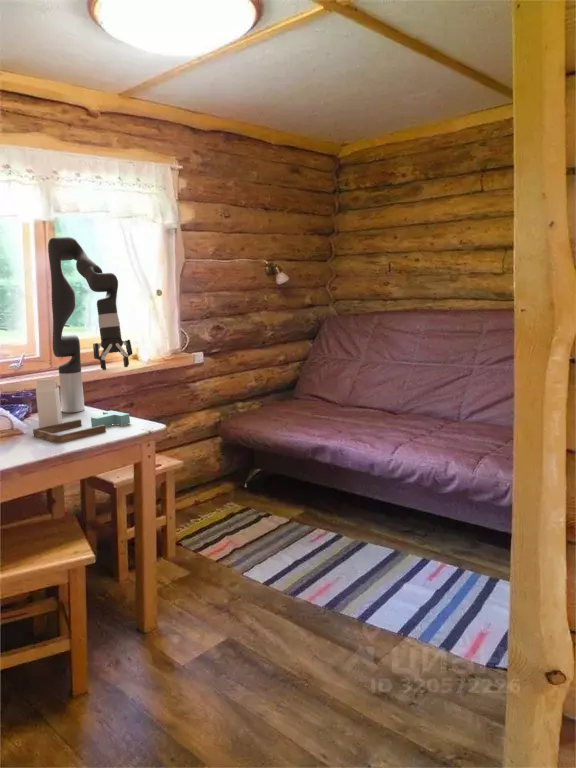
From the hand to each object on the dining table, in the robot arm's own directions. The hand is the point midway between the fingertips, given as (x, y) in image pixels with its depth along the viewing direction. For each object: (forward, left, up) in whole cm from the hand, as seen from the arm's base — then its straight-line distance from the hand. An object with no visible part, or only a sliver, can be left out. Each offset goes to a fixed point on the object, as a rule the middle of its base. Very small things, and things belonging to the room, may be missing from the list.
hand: (115, 368), depth 229 cm
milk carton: (-23, -16, -23) cm, 36 cm away
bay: (-7, -17, -23) cm, 29 cm away
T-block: (-7, -1, -23) cm, 24 cm away
